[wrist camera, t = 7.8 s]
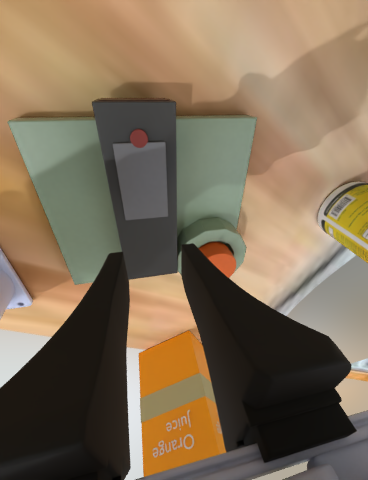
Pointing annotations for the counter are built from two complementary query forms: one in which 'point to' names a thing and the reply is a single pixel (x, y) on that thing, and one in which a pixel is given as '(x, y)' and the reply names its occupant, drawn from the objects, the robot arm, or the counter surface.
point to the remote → (141, 179)
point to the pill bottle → (347, 217)
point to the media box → (98, 194)
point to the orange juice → (177, 405)
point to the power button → (220, 257)
